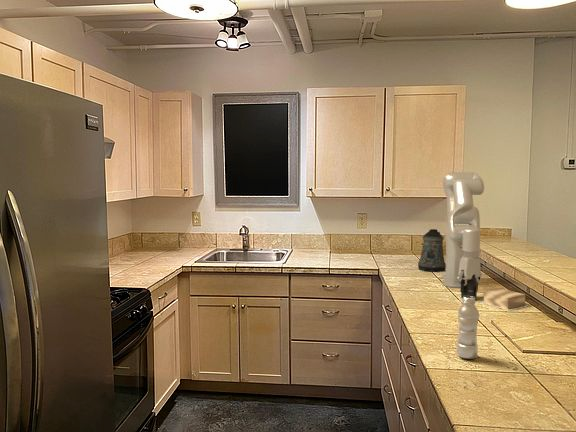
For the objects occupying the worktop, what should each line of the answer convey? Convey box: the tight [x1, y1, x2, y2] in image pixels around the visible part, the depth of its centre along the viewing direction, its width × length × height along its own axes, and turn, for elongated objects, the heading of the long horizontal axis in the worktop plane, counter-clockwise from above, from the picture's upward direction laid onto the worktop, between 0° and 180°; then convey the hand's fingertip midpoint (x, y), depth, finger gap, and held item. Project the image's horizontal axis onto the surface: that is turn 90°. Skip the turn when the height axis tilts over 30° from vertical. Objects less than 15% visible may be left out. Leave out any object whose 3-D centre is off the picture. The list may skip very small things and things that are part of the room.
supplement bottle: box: [460, 274, 478, 301], centre depth 212 cm, size 7×7×12 cm
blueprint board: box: [479, 300, 531, 312], centre depth 204 cm, size 16×14×1 cm
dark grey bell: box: [417, 228, 446, 273], centre depth 284 cm, size 16×19×25 cm
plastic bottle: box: [456, 296, 480, 360], centre depth 147 cm, size 6×7×20 cm
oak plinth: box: [483, 288, 526, 310], centre depth 204 cm, size 12×12×5 cm
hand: (469, 291), depth 213 cm, fingers closed on supplement bottle, 6 cm apart
